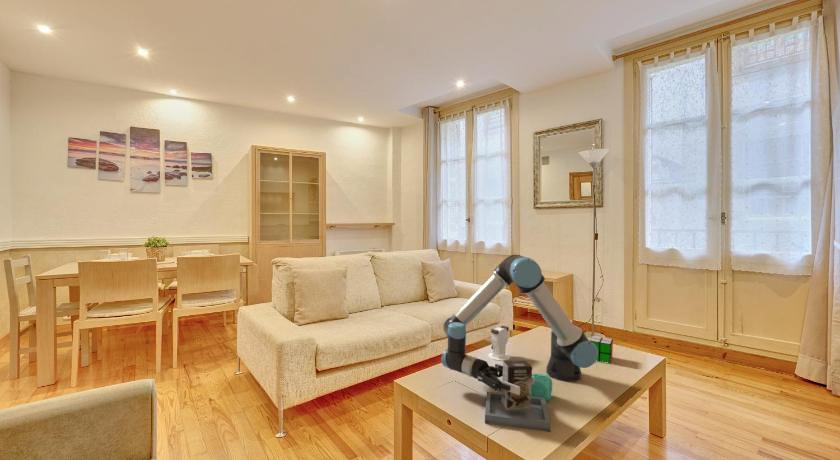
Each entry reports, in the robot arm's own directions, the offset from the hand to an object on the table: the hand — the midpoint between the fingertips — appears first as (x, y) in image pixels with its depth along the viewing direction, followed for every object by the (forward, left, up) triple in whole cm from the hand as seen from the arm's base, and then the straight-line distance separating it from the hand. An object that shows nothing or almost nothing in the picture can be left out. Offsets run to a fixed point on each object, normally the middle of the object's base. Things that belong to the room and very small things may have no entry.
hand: (526, 385), depth 135 cm
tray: (+3, -2, -12) cm, 13 cm away
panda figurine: (+10, -58, -12) cm, 60 cm away
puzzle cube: (-42, -68, -12) cm, 81 cm away
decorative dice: (-7, -18, -12) cm, 23 cm away
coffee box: (+4, -2, -9) cm, 10 cm away
